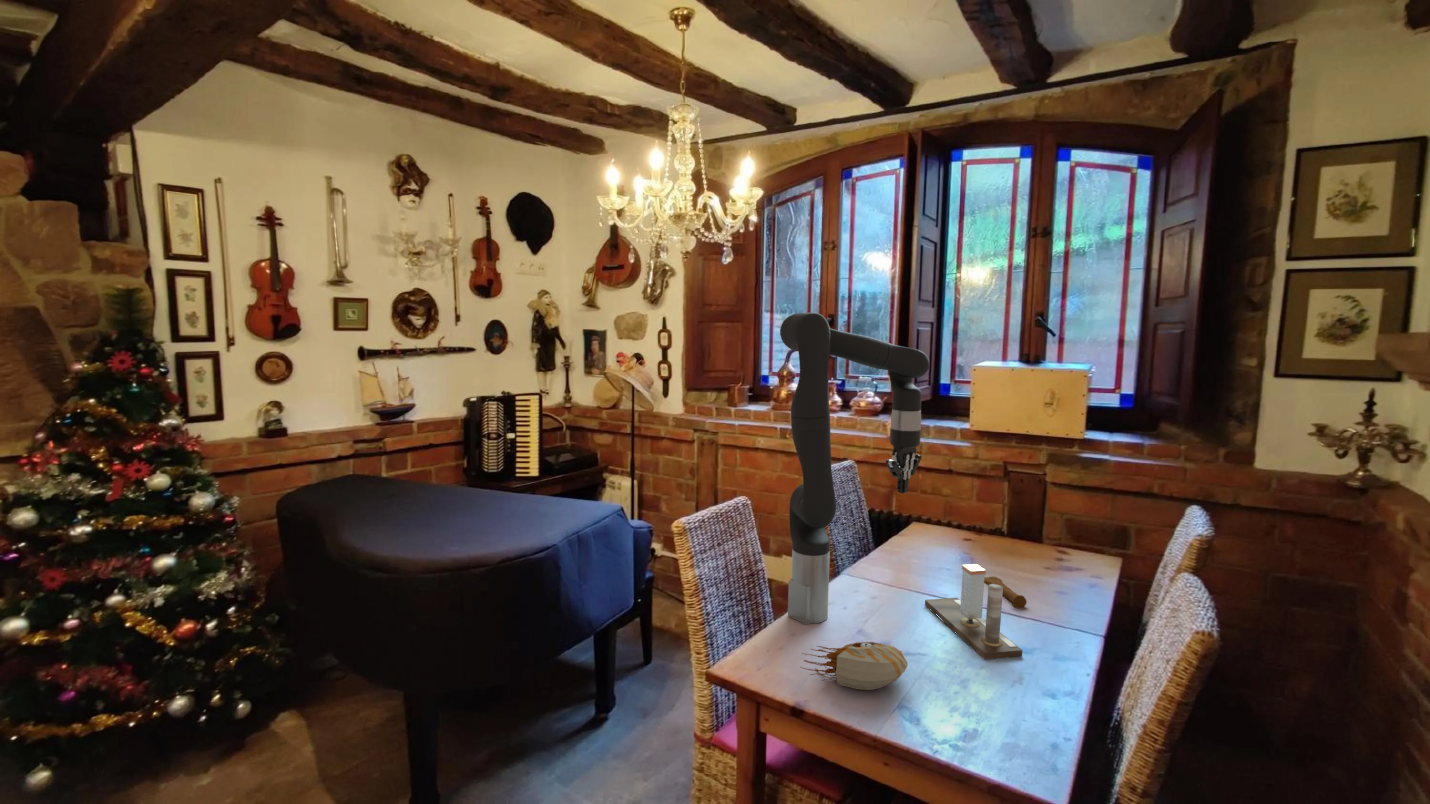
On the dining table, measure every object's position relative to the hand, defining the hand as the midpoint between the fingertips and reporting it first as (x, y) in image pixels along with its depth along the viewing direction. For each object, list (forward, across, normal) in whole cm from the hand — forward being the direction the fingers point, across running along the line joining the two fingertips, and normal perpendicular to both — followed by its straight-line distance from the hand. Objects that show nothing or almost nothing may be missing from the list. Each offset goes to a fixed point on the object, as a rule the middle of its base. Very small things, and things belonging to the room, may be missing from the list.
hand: (902, 492), depth 167 cm
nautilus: (+29, -40, -17) cm, 52 cm away
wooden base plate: (+29, -1, -21) cm, 36 cm away
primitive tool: (+30, +26, -15) cm, 42 cm away
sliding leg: (+27, -1, -21) cm, 34 cm away
